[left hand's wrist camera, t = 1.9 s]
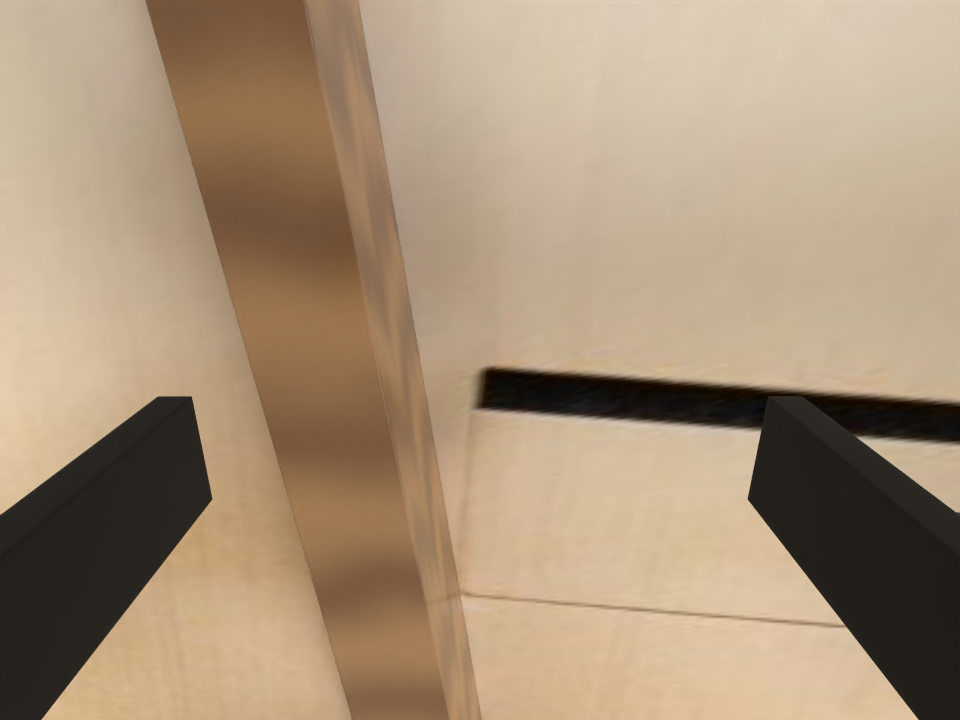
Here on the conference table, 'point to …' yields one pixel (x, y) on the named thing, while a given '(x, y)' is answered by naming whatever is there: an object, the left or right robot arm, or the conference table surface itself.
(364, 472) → the beam
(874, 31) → the conference table surface
